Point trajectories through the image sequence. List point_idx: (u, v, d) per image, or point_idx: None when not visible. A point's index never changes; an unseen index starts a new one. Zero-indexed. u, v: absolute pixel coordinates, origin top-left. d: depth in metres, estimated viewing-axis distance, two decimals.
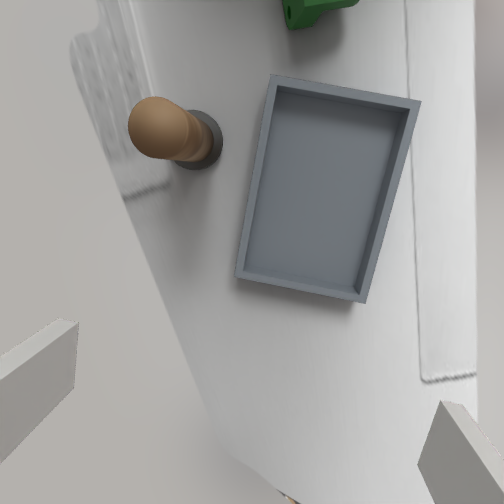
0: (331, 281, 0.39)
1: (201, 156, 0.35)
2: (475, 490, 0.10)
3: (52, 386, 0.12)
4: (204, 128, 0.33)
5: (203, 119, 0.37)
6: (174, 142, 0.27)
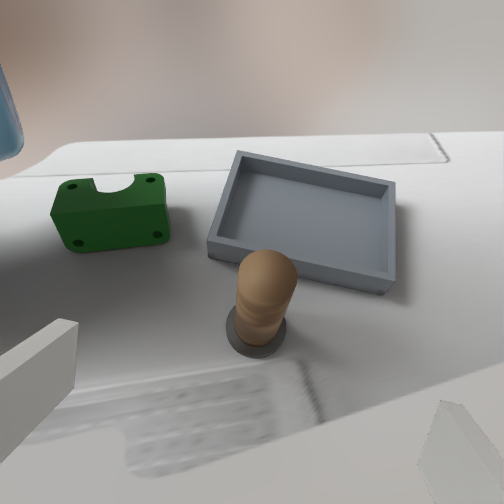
0: (379, 214, 0.44)
1: None
2: (475, 490, 0.10)
3: (52, 386, 0.12)
4: None
5: None
6: (281, 260, 0.27)
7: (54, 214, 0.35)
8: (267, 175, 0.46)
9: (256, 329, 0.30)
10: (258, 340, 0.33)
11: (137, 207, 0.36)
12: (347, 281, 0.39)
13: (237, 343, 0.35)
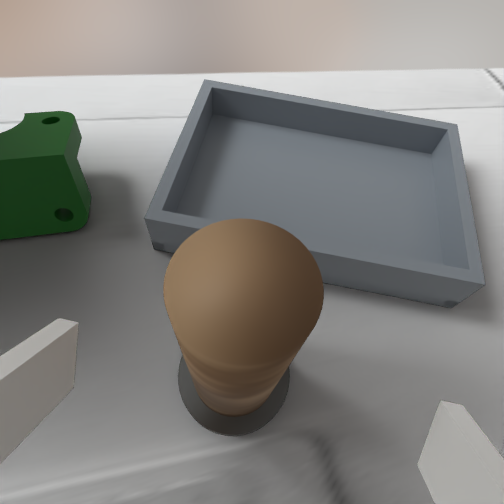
0: (432, 177, 0.28)
1: None
2: (475, 490, 0.10)
3: (52, 386, 0.12)
4: None
5: None
6: (280, 243, 0.11)
7: None
8: (253, 121, 0.30)
9: (227, 400, 0.14)
10: (236, 411, 0.16)
11: (12, 161, 0.20)
12: (393, 286, 0.22)
13: (198, 410, 0.18)
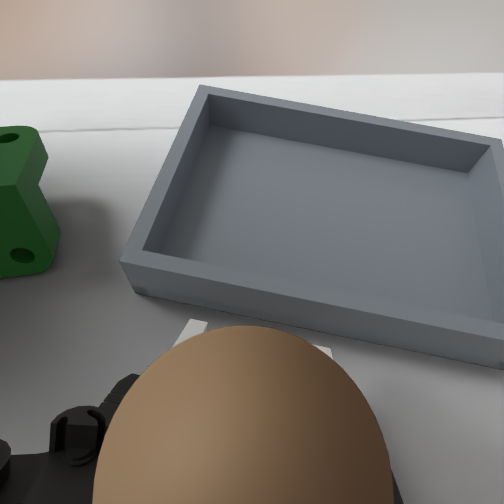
0: (470, 201, 0.23)
1: None
2: None
3: None
4: None
5: None
6: (309, 376, 0.06)
7: None
8: (257, 134, 0.25)
9: None
10: None
11: None
12: (433, 345, 0.18)
13: None
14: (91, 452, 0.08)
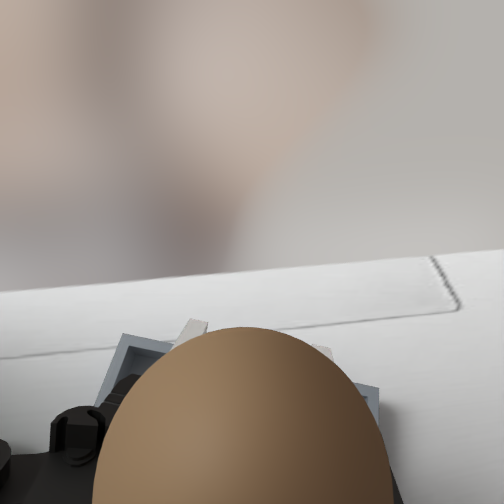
0: None
1: None
2: None
3: None
4: None
5: None
6: (309, 378, 0.06)
7: None
8: None
9: None
10: None
11: None
12: None
13: None
14: (91, 452, 0.08)
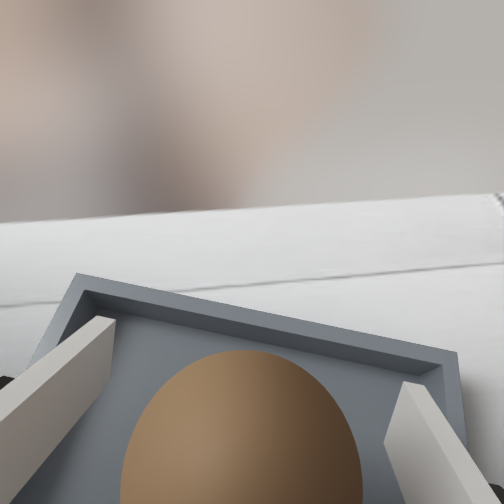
0: None
1: None
2: (426, 460, 0.10)
3: (93, 380, 0.12)
4: None
5: None
6: (296, 393, 0.07)
7: None
8: (157, 321, 0.20)
9: None
10: None
11: None
12: None
13: None
14: None
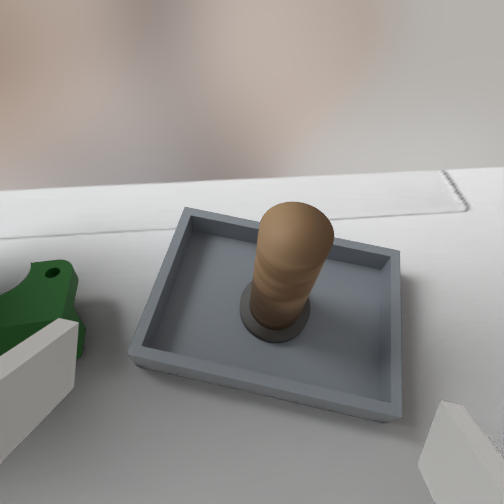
0: (378, 294, 0.32)
1: None
2: (475, 490, 0.10)
3: (52, 386, 0.12)
4: None
5: (251, 291, 0.31)
6: (312, 214, 0.21)
7: None
8: (227, 238, 0.34)
9: (279, 304, 0.25)
10: (279, 320, 0.27)
11: (20, 325, 0.24)
12: (332, 408, 0.27)
13: (253, 325, 0.29)
14: None
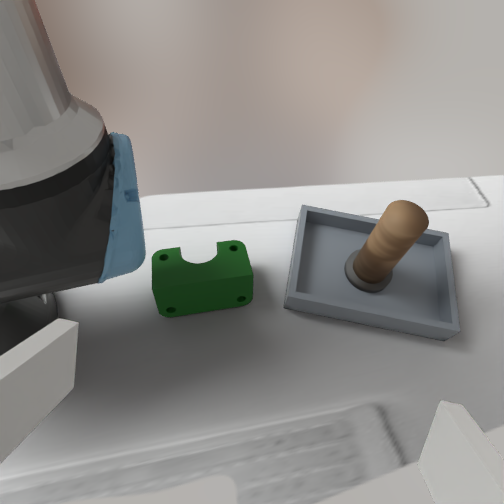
0: (434, 262, 0.48)
1: None
2: (474, 490, 0.10)
3: (52, 386, 0.12)
4: None
5: (352, 259, 0.46)
6: (414, 207, 0.37)
7: (156, 288, 0.38)
8: (328, 226, 0.50)
9: (385, 263, 0.40)
10: (379, 275, 0.43)
11: (229, 278, 0.40)
12: (413, 330, 0.43)
13: (358, 281, 0.45)
14: None
